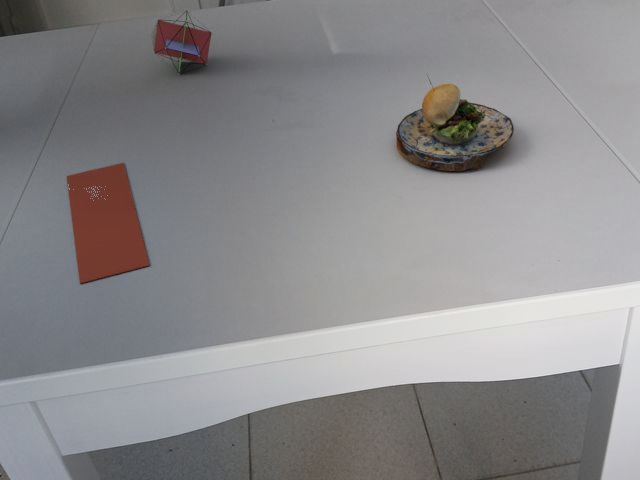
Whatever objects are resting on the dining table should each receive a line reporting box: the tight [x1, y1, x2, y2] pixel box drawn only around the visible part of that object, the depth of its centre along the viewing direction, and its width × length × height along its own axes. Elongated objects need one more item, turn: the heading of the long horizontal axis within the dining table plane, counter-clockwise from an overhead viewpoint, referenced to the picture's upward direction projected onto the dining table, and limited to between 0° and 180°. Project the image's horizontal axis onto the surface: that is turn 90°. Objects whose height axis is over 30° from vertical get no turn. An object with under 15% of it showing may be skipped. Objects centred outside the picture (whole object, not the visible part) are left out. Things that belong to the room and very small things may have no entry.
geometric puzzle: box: [150, 9, 213, 76], centre depth 93 cm, size 7×7×8 cm
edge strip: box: [66, 162, 150, 285], centre depth 70 cm, size 6×20×1 cm, turn 19°
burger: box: [395, 74, 515, 172], centre depth 72 cm, size 12×12×8 cm
